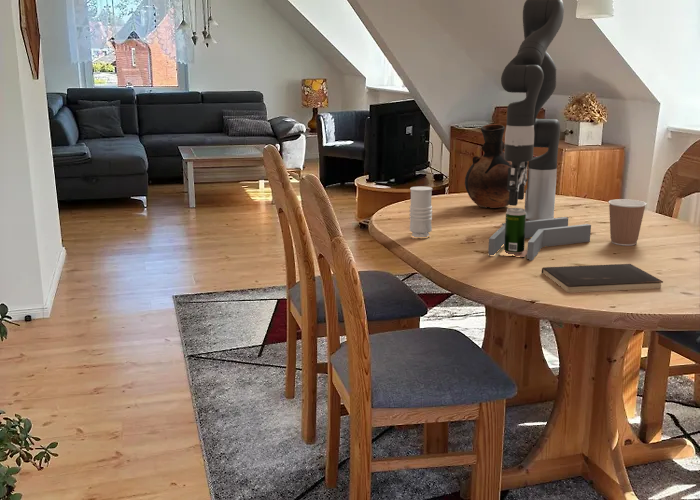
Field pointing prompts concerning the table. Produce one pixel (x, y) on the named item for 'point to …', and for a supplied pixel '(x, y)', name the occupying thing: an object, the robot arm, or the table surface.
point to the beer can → (515, 231)
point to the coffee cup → (625, 220)
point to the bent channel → (544, 235)
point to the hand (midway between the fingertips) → (516, 202)
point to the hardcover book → (601, 277)
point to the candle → (420, 211)
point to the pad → (522, 254)
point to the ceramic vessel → (489, 171)
